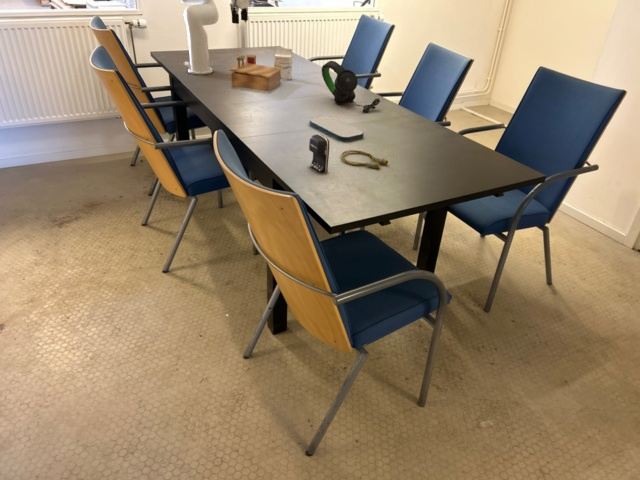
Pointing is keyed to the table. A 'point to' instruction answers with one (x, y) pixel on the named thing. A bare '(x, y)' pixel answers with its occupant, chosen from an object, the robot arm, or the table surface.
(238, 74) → the tea box
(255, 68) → the tea box lid
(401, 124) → the table surface
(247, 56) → the tea tin
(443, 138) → the table surface
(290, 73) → the ink cartridge box
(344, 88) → the headset
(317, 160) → the battery charger
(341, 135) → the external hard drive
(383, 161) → the extension cord
